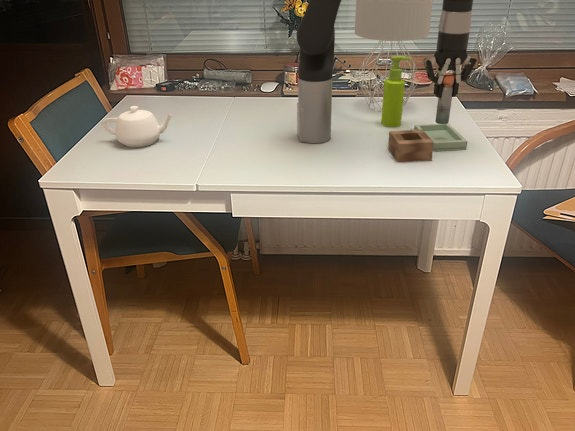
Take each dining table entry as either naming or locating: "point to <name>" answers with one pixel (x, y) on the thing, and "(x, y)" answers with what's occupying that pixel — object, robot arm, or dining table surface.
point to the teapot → (136, 127)
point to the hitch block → (410, 145)
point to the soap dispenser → (393, 95)
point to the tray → (443, 137)
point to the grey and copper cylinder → (445, 99)
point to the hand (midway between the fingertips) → (445, 96)
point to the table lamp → (391, 29)
